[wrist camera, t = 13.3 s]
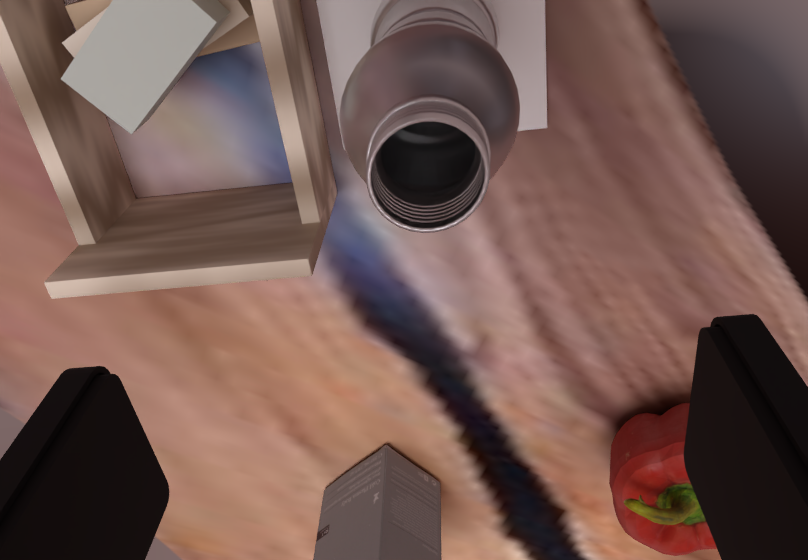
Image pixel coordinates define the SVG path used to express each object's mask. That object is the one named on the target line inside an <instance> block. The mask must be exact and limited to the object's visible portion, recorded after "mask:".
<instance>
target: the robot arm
mask: <svg viewBox="0 0 808 560" xmlns="http://www.w3.org/2000/svg"><path fill="white" fill-rule="evenodd" d="M684 463H685V468H686V472H687V475H688V478H689V480H690V483H691V485H692V488H693V490H694V492H695V495H696V497H697V500H698V502H699V505H700V507H701V510H702V512H703V515H704V517H705V520H706V522H707V524H708V527H709V529H710V532H711V534H712V537H713V539H714V542H715V544H716V547H717V549H718V552H719V554H720V556H721V559H722V560H808V387H807V385H806V384H805V382H804V381H803V379H802V378H801V377H800V375H799V374H798V372H797V371H796V369H795V368H794V367H793V365H792V364H791V362H790V361H789V359H788V358H787V356H786V355H785V354H784V352H783V351H782V349H781V348H780V346H779V345H778V344H777V342H776V341H775V339H774V338H773V336H772V335H771V333H770V332H769V331H768V329H767V328H766V326H765V325H764V323H763V322H762V321H761V319H760V318H759V317H758V316H757V315H754V314H749V315H736V316H723V317H716V318H714V319H713V321H712V322H711V326H710V327H705V328H701V330H700V332H699V337H698V345H697V352H696V360H695V367H694V375H693V383H692V390H691V398H690V406H689V413H688V421H687V429H686V436H685V444H684ZM168 499H169V486H168V482H167V480H166V478H165V475H164V473H163V471H162V469H161V467H160V465H159V462H158V460H157V458H156V456H155V454H154V452H153V449H152V447H151V445H150V443H149V441H148V438H147V436H146V434H145V432H144V430H143V428H142V425H141V423H140V421H139V419H138V417H137V415H136V412H135V410H134V408H133V406H132V404H131V402H130V399H129V397H128V395H127V393H126V391H125V389H124V386H123V384H122V382H121V380H120V378H119V377H118V376H117V375H116V374H110V372H109V370H108V369H106V368H105V367H102V366H96V367H83V368H70V369H67V370H65V371H64V372H63V373H62V374H61V375H60V376H59V378H58V379H57V381H56V382H55V383H54V385H53V386H52V388H51V389H50V391H49V392H48V393H47V395H46V396H45V398H44V399H43V400H42V402H41V403H40V405H39V406H38V407H37V409H36V410H35V412H34V413H33V415H32V416H31V417H30V419H29V420H28V422H27V423H26V424H25V426H24V427H23V429H22V430H21V431H20V433H19V434H18V436H17V437H16V439H15V440H14V442H13V443H12V444H11V446H10V447H9V449H8V450H7V451H6V453H5V454H4V455H3V457H2V458H1V460H0V560H145V558H146V556H147V553H148V551H149V548H150V546H151V544H152V541H153V539H154V536H155V534H156V531H157V529H158V526H159V524H160V521H161V519H162V516H163V514H164V511H165V509H166V507H167V503H168Z"/></svg>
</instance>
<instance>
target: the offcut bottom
mask: <svg viewBox="0 0 808 560" xmlns="http://www.w3.org/2000/svg"><path fill="white" fill-rule="evenodd" d="M111 2H112V0H79V1H77V2H74V3H72V4H69V5H66V6H65V7H66V10H67V12H68V14H69V16H70V18H71V20H72V22H73V25H74V27H75V29H76V31H78V30H79V29H80V28H81V27H83V26H84V25H85V24H87V23H88V22H89V21H90V20H92V19H93V18H94V17H96V16H97V15H98V14H99V13H101V12H102V11H103V10H105V9H106V8H107V7H108V6H109V5H110V4H111ZM256 42H260V39H259V35H258V30H257V26H256V22H255V17H254V13H253V14H252V15H250V16H249V17H248V18H246V19H245V20H243V21H242V22H241V23H239V24H238V25H236V26H235V27H234V28H232V29H231V30H229V31H228V32H226V33H225V34H224V35H222V36H221V37H219V38H218V39H217V40H215V41H214V42H212V43H211V44H209V45H208V46H207V47H205V48H204V49H202V50H201V51H200V53H199V54H198V55H197V57H198V56H203V55H207V54H211V53H215V52H219V51H223V50H227V49H231V48H235V47H239V46H243V45H248V44H252V43H256Z"/></svg>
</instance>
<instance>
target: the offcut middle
mask: <svg viewBox="0 0 808 560" xmlns="http://www.w3.org/2000/svg"><path fill="white" fill-rule="evenodd" d="M218 1H219V2H220V3H221V4H222V5H223V6H224V7H225V8H226V9H227V10H229V11H230V14H229V15H228V16H227V17H226V19H225V20H224V21H223V23H222V24H221V25H220V27H219V28H218V29H217V31H216V32H215V33H214V34H213V36H212V37H211V38H210V40H209V41H208V42H207V44H206V45H205V46H204V48H205V47H207V46H208V45H209V44H211V43H212V42H214V41H215V40H217V39H218V38H219V37H221V36H222V35H224V34H225V33H226V32H228V31H229V30H231V29H232V28H234V27H235V26H236V25H238V24H239V23H241V22H242V21H243V20H245V19H246V18H248V17H249V16H250V15H252V14H253V9H252V4H251V0H218ZM108 7H109V6H108ZM108 7H107V8H108ZM107 8H106V9H105V10H103V11H102V12H101V13H99V14H98V15H97V16H96V17H94V18H93V19H92V20H90V21H89V22H88V23H87V24H85V25H84V26H83V27H81V28H80V29H79V30H78V31H76V32H75V33H74V34H73V35H71V36H70V37H69V38H67V39H66V40H65V41H64V42H62V44H63V45H64V46H65V47H66V49H67V50H68V51H69V52H70V53H71V55H72V56H73V57H74V58H75V56H76V55H77V53H78V52H79V50H80V49H81V47H82V46H83V44H84V43H85V41H86V40H87V38H88V37H89V35H90V34H91V32H92V31H93V29H94V28H95V26H96V25H97V23H98V22H99V20H100V19H101V17H102V16H103V14H104V13H105V11H106V10H107ZM204 48H203V49H204Z"/></svg>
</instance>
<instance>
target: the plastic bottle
mask: <svg viewBox="0 0 808 560" xmlns="http://www.w3.org/2000/svg"><path fill="white" fill-rule="evenodd" d="M498 44H499V27H498V20H497V16H496V13H495V10H494V7H493V5H492V3H491V1H490V0H382V2H381V4H380V6H379V7H378V9H377V11H376V13H375V16H374V19H373V22H372V26H371V33H370V49H369V50H368V51H367V52H366V54H365V55H364V56H363V57H362V58H361V59H360V61H359V62H358V64H357V65H356V66H355V68H354V70H353V72H352V73H351V75H350V77H349V79H348V81H347V83H346V86H345V89H344V92H343V95H342V98H341V106H340V115H339V118H340V131H341V136H342V139H343V143H344V147H345V150H346V152H347V154H348V156H349V158H350V160H351V162H352V164H353V166H354V168H355V170H356V171H357V172H358V174H359V175H360V176H361V177H362V179H363V180H364V181H365V182H366V184H367V188H368V191H369V195H370V198H371V200H372V202H373V204H374V206H375V207H376V208H377V210H378V211H379V212H380V213H381V215H382V216H384V217H385V218H386V219H387V220H388V221H390V222H391V223H393V224H395V225H396V226H398V227H400V228H403V229H406V230H409V231H413V232H420V233H430V232H438V231H442V230H446V229H449V228H451V227H454V226H456V225H458V224H459V223H461V222H462V221H464V220H465V219H467V218H468V217H469V216H470V215H471V214H472V213H473V212H474V211H475V210H476V209H477V207H478V206H479V205H480V203H481V202H482V200H483V198H484V195H485V193H486V191H487V187H488V184H489V180H490V179H491V178H492V177H493V176H494V175H495V173H496V172H497V171H498V169H499V168H500V167H501V165H502V164H503V162H504V161H505V159H506V158H507V156H508V154H509V152H510V150H511V148H512V146H513V143H514V141H515V138H516V134H517V130H518V126H519V118H520V102H519V94H518V88H517V86H516V83H515V80H514V77H513V74H512V72H511V70H510V69H509V67H508V65H507V64H506V62H505V61H504V59H503V57H502V56H501V54H500V53H499V51H498V50H497V48H498Z"/></svg>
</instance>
